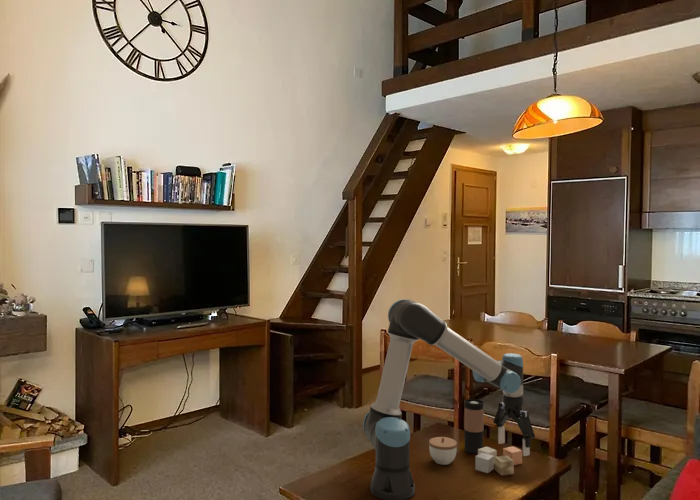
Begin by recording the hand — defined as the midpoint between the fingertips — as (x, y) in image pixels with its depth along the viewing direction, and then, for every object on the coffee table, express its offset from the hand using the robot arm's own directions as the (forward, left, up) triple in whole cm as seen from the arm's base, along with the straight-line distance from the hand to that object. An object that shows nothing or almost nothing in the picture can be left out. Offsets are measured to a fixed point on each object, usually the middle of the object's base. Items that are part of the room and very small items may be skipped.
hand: (513, 449), depth 212 cm
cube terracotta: (0, 0, -5) cm, 5 cm away
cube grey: (-14, 0, -5) cm, 15 cm away
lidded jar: (-24, +12, -5) cm, 28 cm away
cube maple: (-9, -5, -5) cm, 12 cm away
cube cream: (-9, +4, -5) cm, 11 cm away
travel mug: (-6, +16, -5) cm, 18 cm away
